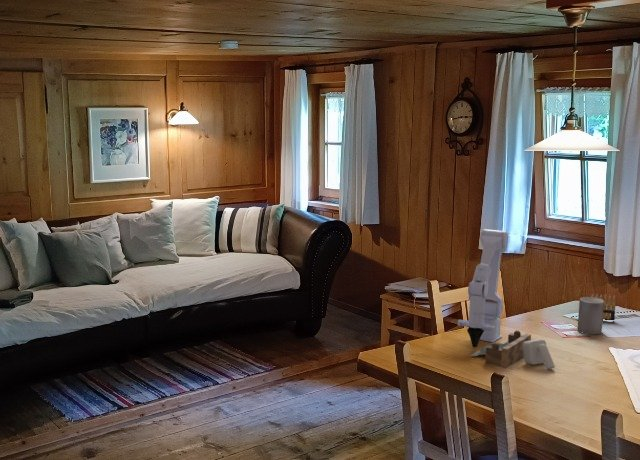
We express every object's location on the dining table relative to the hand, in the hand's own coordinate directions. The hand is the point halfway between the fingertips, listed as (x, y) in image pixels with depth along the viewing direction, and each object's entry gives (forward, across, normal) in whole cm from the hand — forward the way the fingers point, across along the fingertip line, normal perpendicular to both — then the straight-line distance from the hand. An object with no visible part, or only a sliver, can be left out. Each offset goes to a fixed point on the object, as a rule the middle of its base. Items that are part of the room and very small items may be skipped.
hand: (474, 346), depth 289 cm
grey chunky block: (+2, +26, -1) cm, 27 cm away
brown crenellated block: (+1, +14, 0) cm, 15 cm away
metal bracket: (+2, +8, 0) cm, 8 cm away
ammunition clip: (+2, +26, +74) cm, 78 cm away
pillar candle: (+2, +27, +54) cm, 60 cm away
